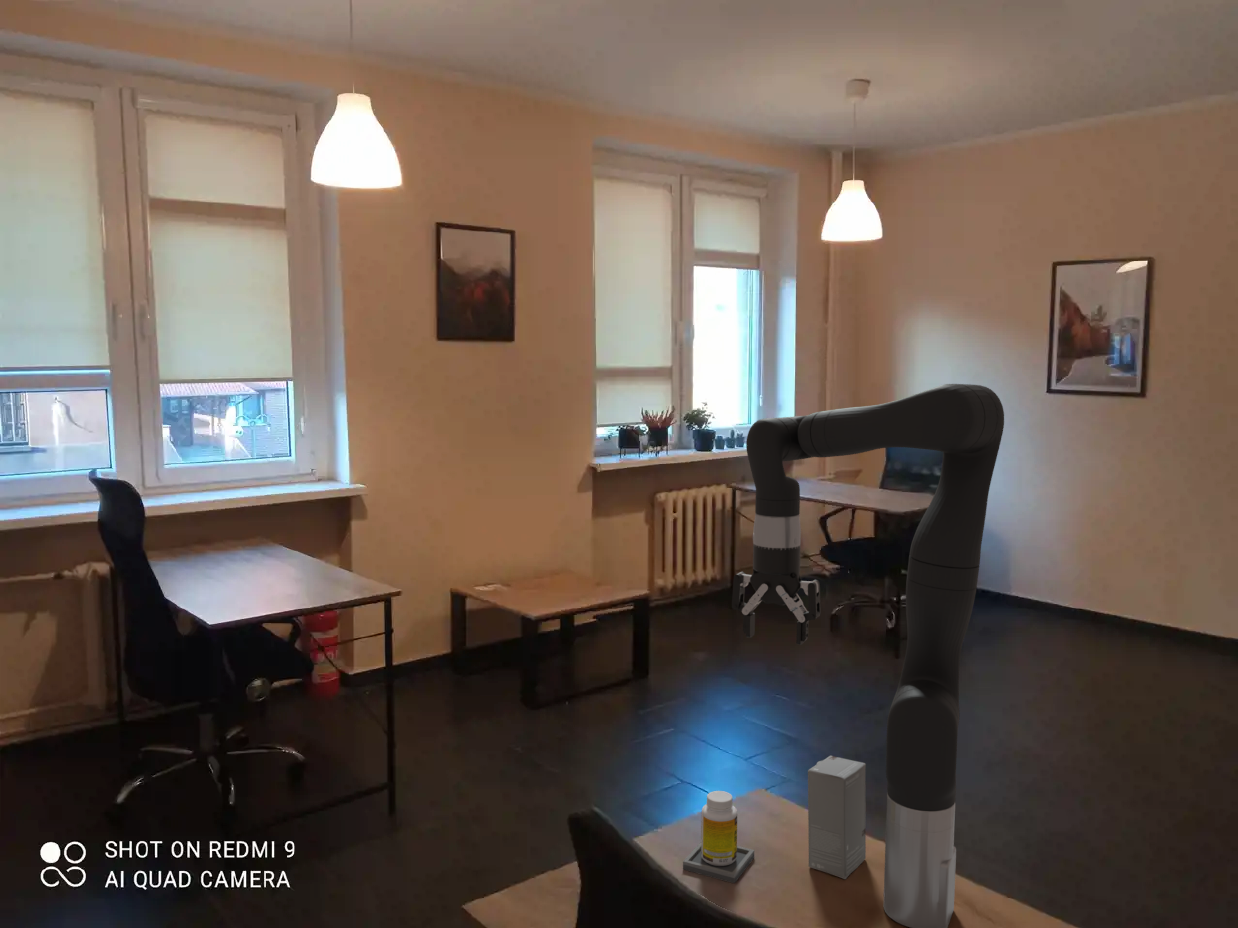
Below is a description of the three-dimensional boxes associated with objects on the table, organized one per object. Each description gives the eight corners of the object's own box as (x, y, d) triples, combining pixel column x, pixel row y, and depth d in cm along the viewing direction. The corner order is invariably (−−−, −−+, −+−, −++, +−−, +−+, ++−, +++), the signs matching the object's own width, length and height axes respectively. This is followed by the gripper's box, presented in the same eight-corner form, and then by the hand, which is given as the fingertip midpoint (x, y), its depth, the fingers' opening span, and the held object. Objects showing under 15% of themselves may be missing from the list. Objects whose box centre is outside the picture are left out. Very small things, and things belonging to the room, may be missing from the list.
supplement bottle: (740, 866, 149) (741, 803, 148) (704, 868, 149) (705, 805, 148) (732, 848, 155) (733, 787, 154) (698, 850, 154) (698, 788, 153)
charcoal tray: (754, 857, 154) (754, 849, 154) (734, 883, 146) (734, 874, 146) (704, 844, 158) (704, 837, 158) (683, 869, 150) (683, 861, 150)
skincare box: (845, 881, 147) (848, 781, 145) (802, 866, 151) (805, 768, 149) (868, 858, 154) (871, 762, 152) (826, 844, 158) (828, 751, 156)
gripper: (826, 541, 156) (824, 640, 158) (743, 534, 163) (742, 628, 164) (812, 549, 149) (810, 652, 151) (726, 541, 156) (725, 639, 158)
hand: (774, 639), depth 158 cm, fingers open, 8 cm apart
